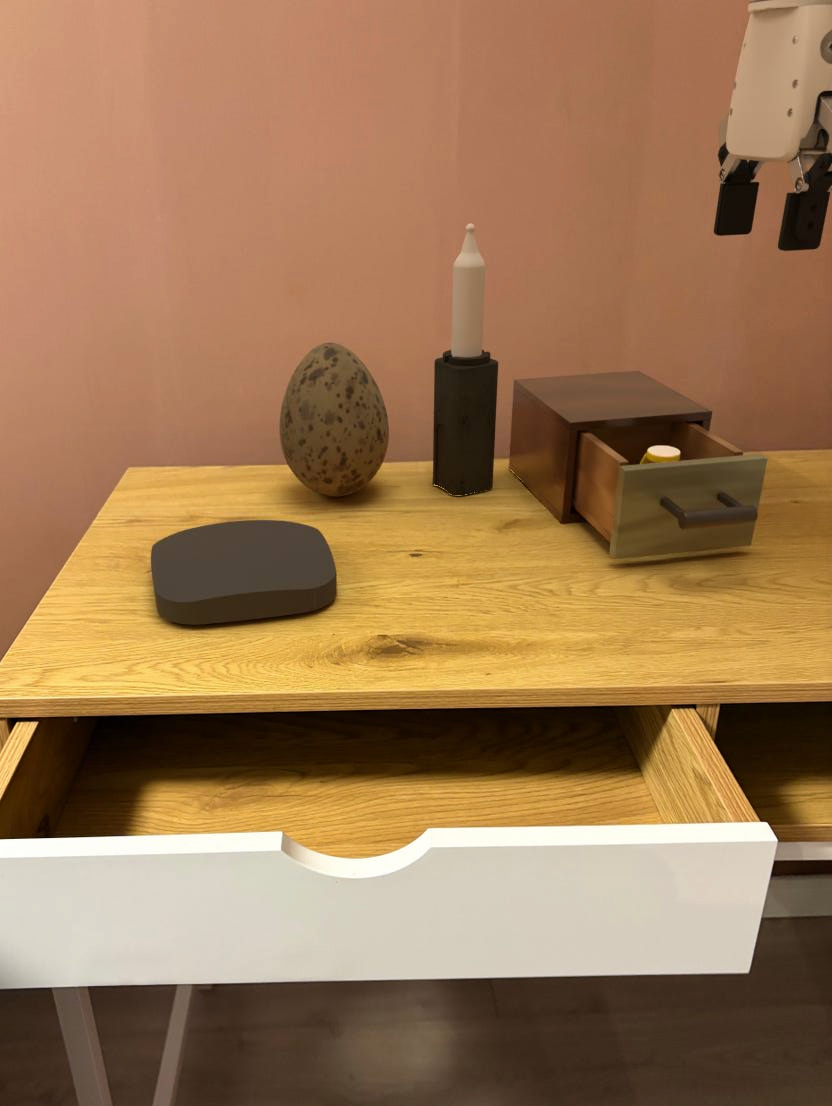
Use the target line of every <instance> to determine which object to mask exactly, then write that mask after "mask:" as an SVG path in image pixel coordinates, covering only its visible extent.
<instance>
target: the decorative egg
mask: <svg viewBox="0 0 832 1106" xmlns="http://www.w3.org/2000/svg"><path fill="white" fill-rule="evenodd" d="M388 418H389V417H388V413H387V409H386V405H385V401H384V398H383V395H382V393H381V390H380V388H379V386H378V384H377V382H376V380H375V379H374V376H373V375H372V374H371V372H370V370H369V369H368V368H367V366H366V365H365V363H364V362H363V361H362V360H361V359H360V357H358V356H357V355H356V354H355V353H354V352H353V351H352V350H350V349H349V348H348V347H345V345H342V344H340V343H336V342H324V343H320V344H318V345H316V346H314V347H313V348H312V349H311V350H309V351H308V353H307V354H306V355H305V356H304V357H303V358H301V360H300V362H299V363H298V365H297V366H296V368H295V370H294V372H293V374H292V375H291V377H290V379H289V382H288V384H287V386H286V389H285V392H284V396H283V398H282V404H281V408H280V415H279V440H280V447H281V450H282V454H283V457H284V459H285V461H286V464H287V466H288V468H289V469H290V471H291V472H292V473H293V475H294V476H295V477H296V478H297V480H298V481H299V482H301V484H303V485H304V486H305V487H307V489H309V490H311V491H312V492H315V493H317V494H320V495H322V496H325V497H345V496H349V495H352V494H354V493H356V492H358V491H360V490H361V489H362V488H364V487H366V486H367V485H368V484H369V483H370V482H371V481H372V480H373V478H375V476H376V475H377V473H378V472H379V470H380V469H381V467H382V465H383V463H384V461H385V458H386V455H387V451H388V447H389V440H390V439H389V437H390V427H389V419H388Z"/></svg>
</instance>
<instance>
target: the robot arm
mask: <svg viewBox="0 0 832 1106" xmlns="http://www.w3.org/2000/svg"><path fill="white" fill-rule="evenodd" d="M746 13H748V14H750V15H749V19H748V22H747V27H746V28H745V29H746V30H745V32H744V33H745V34H744V37H743V40H742V44H741V50H740V55H739V59H738V63H737V67H736V68H737V69H736V74H735V77H734V78H735V79H734V84H733V89H732V94H731V98H730V106H729V111H728V112H729V113H728V114H727V115H726V116H725V117H723V118H722V119H721V120H720V121H719V123H718V127H717V130H718V131H717V132H718V133H717V134H718V143H719V149H718V153H717V158H718V162H719V165H720V168H719V170H718V175H717V176H718V177H717V179H718V182H719V183H720V184H719V190H718V191H719V192H718V198H717V205H716V211H715V219H714V225H713V234H714V235H716V236H719V237H722V236H723V237H724V236H741V235H750V233H751V232H752V229H753V225H754V219H755V218H754V217H755V212H756V206H757V199H758V193H759V187H760V181H754V180H755V179H756V177H757V176H758V174H759V172H760V171H761V169H762V167H763V165H764V164H765V162H766V163H778V164H779V163H780V164H783V163H787V166H788V171H789V176H790V179H791V184H792V187H793V191H794V192H793V191H792V192H786V196H785V202H784V207H783V213H782V219H781V225H780V229H779V236H778V242H777V249H778V250H779V251H783V252H790V251H791V252H792V251H795V252H796V251H809V250H817V249H819V247H820V246H821V244H822V243H821V242H822V237H823V232H824V227H825V221H826V217H827V211H828V206H829V203H830V202H829V201H830V196H831V193H832V0H748V6H747V12H746ZM807 165H811V167H810V168H809V169H808V166H807Z"/></svg>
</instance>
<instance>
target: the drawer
mask: <svg viewBox="0 0 832 1106" xmlns="http://www.w3.org/2000/svg"><path fill="white" fill-rule="evenodd" d="M652 446H670V447H674V448H677V449H678V450H679V451H680V459H679V461H672V462H660V463H649V464H640V462H641V460H642V458H643V457H644V455H645V454H646V453H647V450H648V449H649V448H650V447H652ZM768 459H769V458H768V457H767V456H765V455H763V454H762V453H752V454H744V451H743V450H742V449H740V448H738V447H737V446H735V445H733V444H731V443H729V442H728V441H727V440H725V439H723V438H721V437H719V436H718V435H716V434H714V433H713V432H711V431H710V430H709V431H708V430H706V429H704V428H703V427H701V426H699V425H698V424H696V423H694V422H692V421H689V422H677V423H665V424H652V425H640V426H627V427H615V428H603V429H590V430H578V431H577V442H576V453H575V464H574V475H573V486H572V497H571V506H572V507H574V508H575V509H576V510H577V511H578V512H579V513H580V514H581V515H582V516H583V517H584V518H585V519H586V520H587V521H586V522H588V523H589V524H590V526H592V527H593V528H594V529H595V530H596V531H597V532H598V533H599V534H601V536H602V537H603V538H604V539H606V540H607V542H608V543H610V545H609V552H608V553H609V555H610V557H612V558H613V559H614V560H621V559H630V558H641V557H651V556H659V555H669V554H680V553H681V554H682V553H689V552H701V551H709V550H720V549H729V548H739V547H750V546H752V544H753V543H752V542H753V539H754V534H755V527H756V523H757V520H758V517H759V514H758V512H759V507H760V506H759V505H760V501H761V495H762V490H763V486H764V480H765V476H766V475H765V474H766V471H767V466H768V465H767V464H768Z"/></svg>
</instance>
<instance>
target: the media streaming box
mask: <svg viewBox="0 0 832 1106" xmlns="http://www.w3.org/2000/svg"><path fill="white" fill-rule="evenodd" d="M336 567H337V566H336V564H335V559H334V557H333V552H332V550H331V548H330V545H329V543H328V541H327V539H326V537H325V536H324V534H323V533H322V532H321V531H320V529H318V528H316V527H314V526H311V525H307V524H304V523H300V522H299V523H298V522H295V521H287V520H280V519H279V520H278V519H246V520H232V521H224V522H216V523H211V524H205V525H201V526H195V527H191V528H188V529H183V530H180V531H177V532H175V533H172V534H170V535H167V536H165V537H163V538H162V539H159V540H158V541H156V542H155V543H154V544H152V545H151V550H150V571H151V580H152V585H153V593H154V599H155V606H156V612H157V613H158V615H159V616H160V617H162V618H163V619H165V620H166V621H169V622H173V623H176V624H182V625H191V626H192V625H194V626H197V625H198V626H199V625H209V624H220V623H229V622H230V623H231V622H240V621H250V620H258V619H259V620H260V619H266V618H267V619H268V618H276V617H282V616H289V615H297V614H304V613H310V612H313V611H317V610H319V609H321V608H324V607H326V606H327V605H329V604H330V603H331V602H333V601H334V600H335V598H336V597H337V593H338V583H337V568H336Z"/></svg>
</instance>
